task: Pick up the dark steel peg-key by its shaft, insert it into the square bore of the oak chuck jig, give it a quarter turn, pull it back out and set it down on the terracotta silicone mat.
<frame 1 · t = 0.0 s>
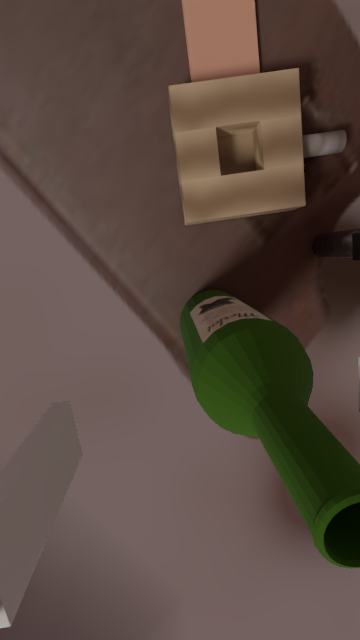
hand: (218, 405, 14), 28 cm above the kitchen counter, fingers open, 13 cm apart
jig: (232, 159, 37), on the kitchen counter
wine bottle: (211, 320, 42), on the kitchen counter
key: (323, 245, 40), on the kitchen counter
mat: (220, 37, 35), on the kitchen counter
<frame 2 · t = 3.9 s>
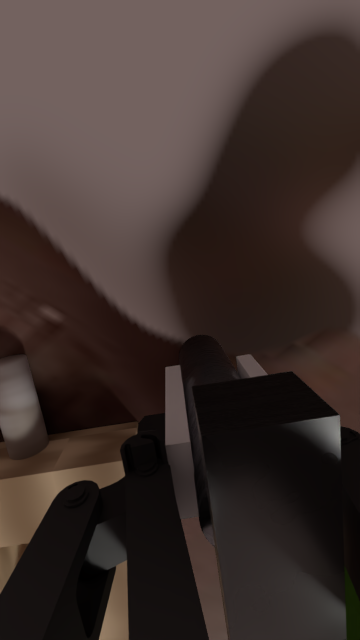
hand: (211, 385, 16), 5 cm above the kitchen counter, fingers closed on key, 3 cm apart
jig: (60, 520, 22), on the kitchen counter
wine bottle: (325, 529, 24), on the kitchen counter
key: (201, 356, 20), on the kitchen counter, touching gripper
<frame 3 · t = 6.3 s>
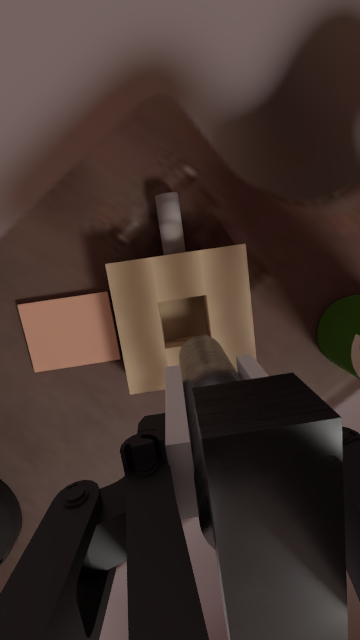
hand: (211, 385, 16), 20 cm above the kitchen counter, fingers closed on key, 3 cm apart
jig: (183, 314, 35), on the kitchen counter
wine bottle: (350, 330, 37), on the kitchen counter
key: (201, 357, 20), point 15 cm above the kitchen counter, touching gripper
mat: (71, 331, 35), on the kitchen counter
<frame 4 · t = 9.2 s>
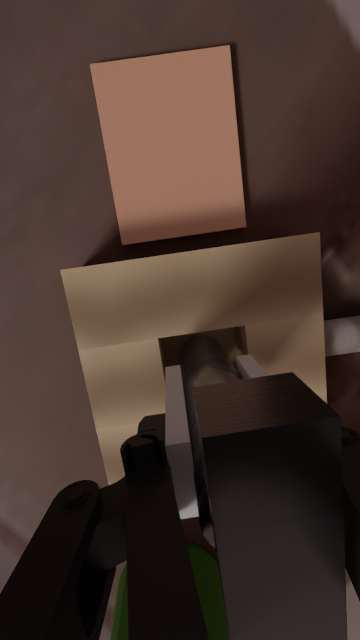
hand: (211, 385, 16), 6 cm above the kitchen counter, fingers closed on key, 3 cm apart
jig: (199, 351, 21), on the kitchen counter
wine bottle: (171, 579, 26), on the kitchen counter
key: (201, 356, 20), point 1 cm above the kitchen counter, touching gripper
mat: (172, 153, 19), on the kitchen counter
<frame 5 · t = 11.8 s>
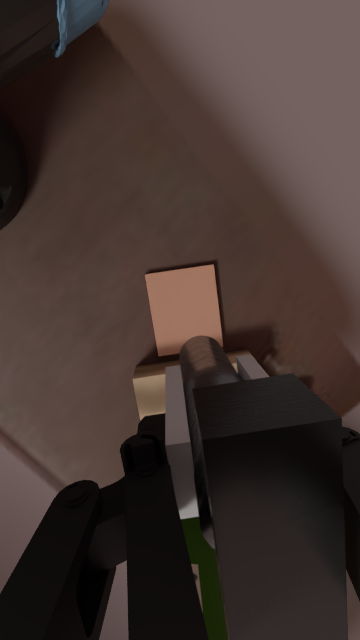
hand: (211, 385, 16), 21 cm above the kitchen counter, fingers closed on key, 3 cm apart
jig: (198, 408, 39), on the kitchen counter
wine bottle: (182, 537, 43), on the kitchen counter
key: (201, 357, 20), point 17 cm above the kitchen counter, touching gripper
mat: (185, 310, 36), on the kitchen counter
when the fingers open (7 cm above the kitchen counter, at t = 14.5 s): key drops 1 cm, resting on mat.
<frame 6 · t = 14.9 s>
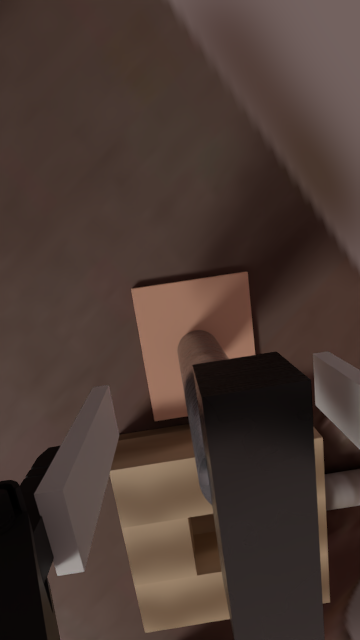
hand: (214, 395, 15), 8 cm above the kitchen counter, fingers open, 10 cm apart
jig: (218, 496, 25), on the kitchen counter
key: (198, 350, 21), point 1 cm above the kitchen counter, touching mat
mat: (198, 347, 22), on the kitchen counter
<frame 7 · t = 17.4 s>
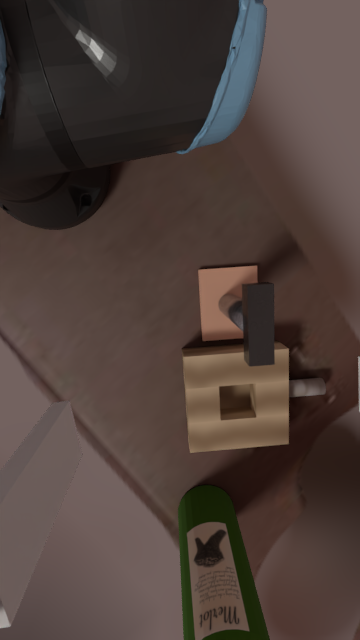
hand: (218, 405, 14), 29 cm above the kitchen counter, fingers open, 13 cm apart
jig: (231, 389, 45), on the kitchen counter
wine bottle: (205, 507, 49), on the kitchen counter
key: (229, 304, 42), point 1 cm above the kitchen counter, touching mat
mat: (228, 303, 42), on the kitchen counter
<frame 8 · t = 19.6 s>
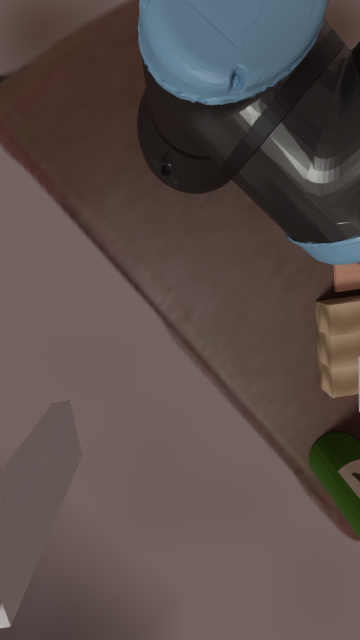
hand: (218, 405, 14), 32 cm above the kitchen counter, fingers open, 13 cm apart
wine bottle: (333, 453, 51), on the kitchen counter
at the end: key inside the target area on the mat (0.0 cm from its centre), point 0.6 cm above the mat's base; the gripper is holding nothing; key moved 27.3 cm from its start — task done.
